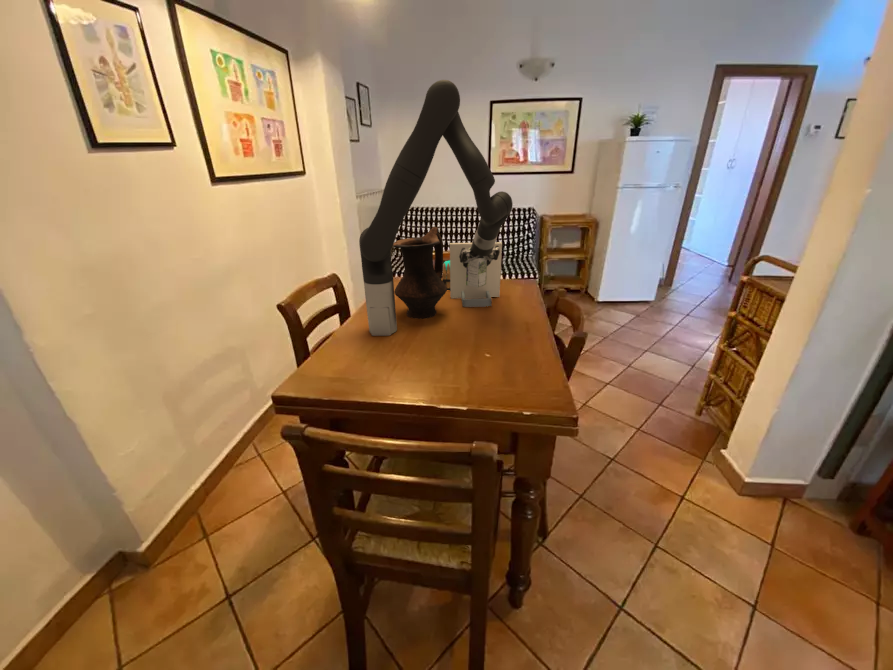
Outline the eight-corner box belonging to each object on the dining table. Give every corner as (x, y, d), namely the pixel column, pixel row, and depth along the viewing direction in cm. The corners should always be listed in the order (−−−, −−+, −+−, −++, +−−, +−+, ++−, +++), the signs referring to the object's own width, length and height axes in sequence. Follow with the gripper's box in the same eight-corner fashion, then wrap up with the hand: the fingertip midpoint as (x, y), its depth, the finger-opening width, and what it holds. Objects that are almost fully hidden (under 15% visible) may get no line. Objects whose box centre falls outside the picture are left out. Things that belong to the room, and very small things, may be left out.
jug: (424, 329, 124) (420, 238, 111) (385, 317, 134) (378, 232, 121) (461, 310, 139) (461, 228, 126) (423, 301, 149) (420, 224, 137)
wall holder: (503, 306, 143) (506, 248, 133) (451, 307, 143) (450, 249, 133) (498, 296, 153) (501, 242, 144) (450, 296, 153) (449, 243, 144)
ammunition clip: (442, 290, 161) (441, 263, 156) (442, 289, 163) (442, 262, 158) (466, 291, 160) (466, 264, 154) (467, 290, 161) (467, 262, 156)
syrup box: (474, 282, 148) (474, 245, 142) (486, 284, 145) (487, 247, 139) (465, 285, 144) (465, 248, 138) (478, 288, 141) (478, 250, 135)
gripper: (502, 229, 130) (491, 255, 145) (462, 231, 128) (456, 257, 143) (506, 247, 127) (495, 272, 142) (466, 250, 125) (459, 274, 140)
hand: (475, 264), depth 143 cm, fingers closed on syrup box, 8 cm apart
